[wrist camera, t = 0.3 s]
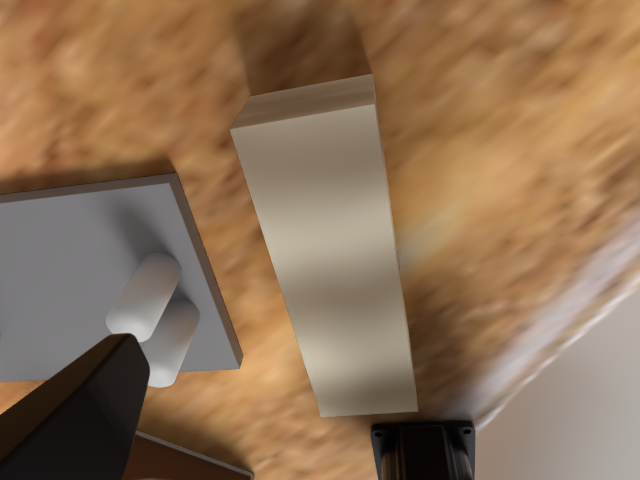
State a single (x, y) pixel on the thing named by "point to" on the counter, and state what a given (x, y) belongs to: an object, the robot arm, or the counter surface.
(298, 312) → the beige marbled block
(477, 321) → the counter surface
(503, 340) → the counter surface
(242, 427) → the counter surface
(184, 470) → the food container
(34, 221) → the peg stand
